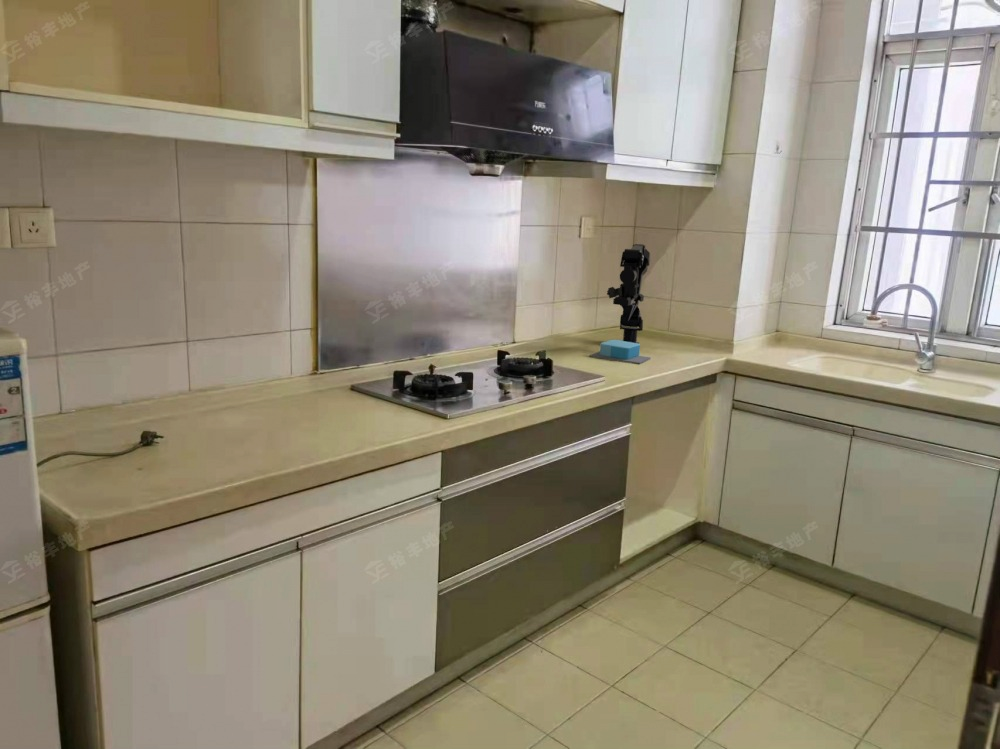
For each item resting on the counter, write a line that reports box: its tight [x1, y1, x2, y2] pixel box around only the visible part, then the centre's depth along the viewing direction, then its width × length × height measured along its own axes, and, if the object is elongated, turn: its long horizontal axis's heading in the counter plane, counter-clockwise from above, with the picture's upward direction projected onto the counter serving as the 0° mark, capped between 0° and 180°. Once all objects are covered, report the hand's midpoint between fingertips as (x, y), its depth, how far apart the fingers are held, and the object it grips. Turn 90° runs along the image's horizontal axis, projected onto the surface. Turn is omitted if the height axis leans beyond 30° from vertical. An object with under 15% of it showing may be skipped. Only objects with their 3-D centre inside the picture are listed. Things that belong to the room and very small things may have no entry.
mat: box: [589, 350, 651, 365], centre depth 285 cm, size 12×20×1 cm, turn 60°
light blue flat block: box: [599, 339, 641, 359], centre depth 287 cm, size 12×4×12 cm
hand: (627, 320), depth 298 cm, fingers closed
